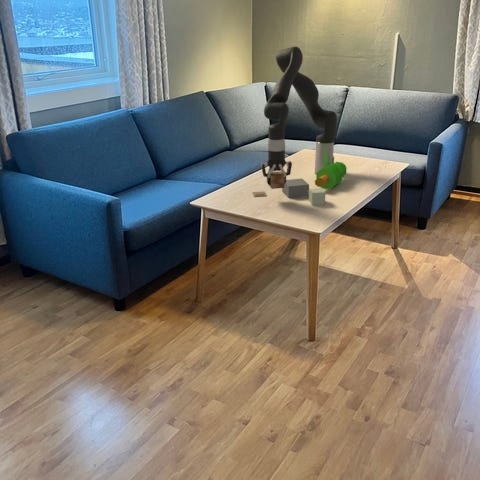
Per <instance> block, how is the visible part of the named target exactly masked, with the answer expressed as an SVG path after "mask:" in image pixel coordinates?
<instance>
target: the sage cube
mask: <svg viewBox="0 0 480 480" xmlns="http://www.w3.org/2000/svg"><path fill="white" fill-rule="evenodd" d="M326 195H327V193H326V190H324V188H321V187H318V188H309V196H308V202H309V203H310V205H311V206H325V205H326Z"/></svg>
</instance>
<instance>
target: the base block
mask: <svg viewBox="0 0 480 480" xmlns="http://www.w3.org/2000/svg"><path fill="white" fill-rule="evenodd" d="M309 189H310V183H308V182H307V181H306V180H305V179H303V178H293V179H286V183H285V184H284V188H281V192H282V193H283V194H284V195H285V197H287V198H288V199H292V198H293V199H294V198H295V199H296V198H304V197H306V198H307V197H309Z"/></svg>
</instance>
